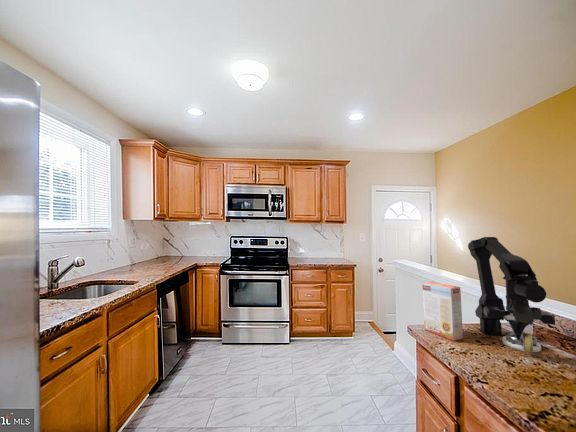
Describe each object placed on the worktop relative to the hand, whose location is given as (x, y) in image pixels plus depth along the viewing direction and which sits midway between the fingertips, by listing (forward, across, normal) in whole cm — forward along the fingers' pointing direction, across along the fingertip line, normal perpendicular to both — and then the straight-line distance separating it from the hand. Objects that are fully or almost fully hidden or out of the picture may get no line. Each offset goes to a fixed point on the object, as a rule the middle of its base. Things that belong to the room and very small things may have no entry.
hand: (518, 339), depth 95 cm
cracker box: (+6, -22, +11) cm, 25 cm away
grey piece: (+3, +3, +6) cm, 8 cm away
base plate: (+5, +3, +9) cm, 11 cm away
